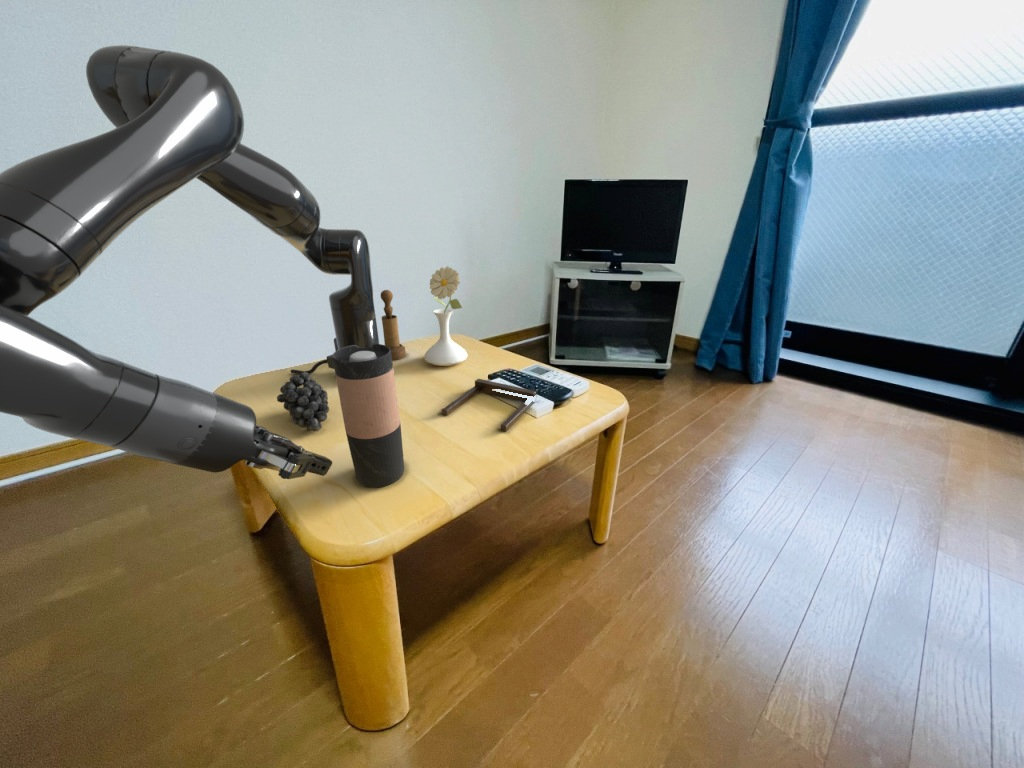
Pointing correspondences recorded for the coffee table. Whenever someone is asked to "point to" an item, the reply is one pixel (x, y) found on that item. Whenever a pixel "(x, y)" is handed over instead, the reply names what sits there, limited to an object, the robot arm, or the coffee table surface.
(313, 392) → the fruit
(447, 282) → the flower in vase
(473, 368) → the coffee table surface
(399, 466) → the travel mug
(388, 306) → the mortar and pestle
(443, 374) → the coffee table surface
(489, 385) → the walnut stand
